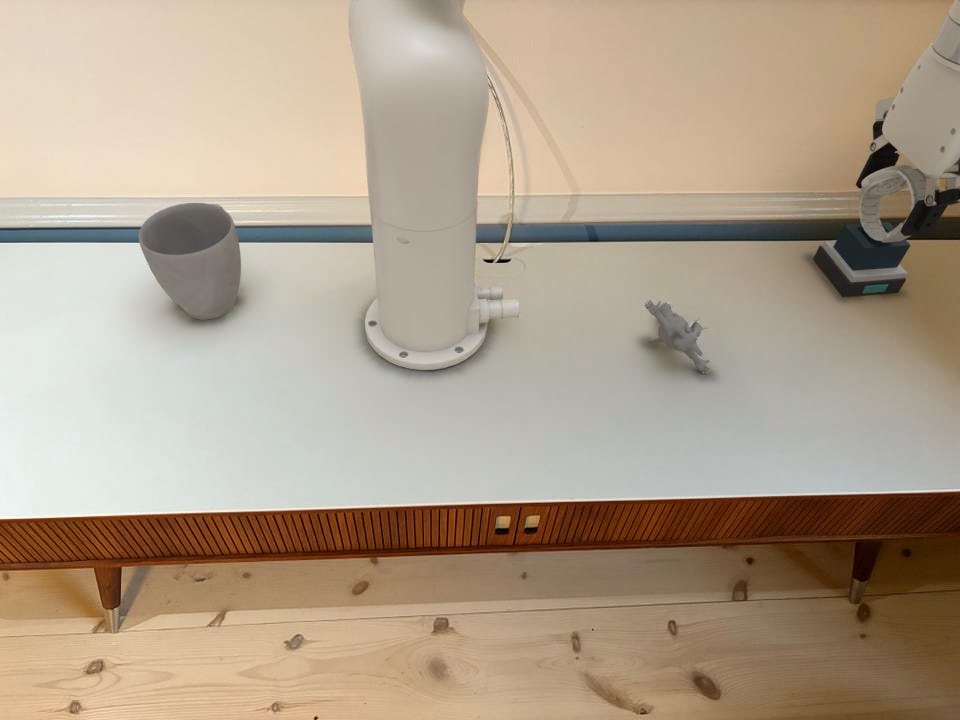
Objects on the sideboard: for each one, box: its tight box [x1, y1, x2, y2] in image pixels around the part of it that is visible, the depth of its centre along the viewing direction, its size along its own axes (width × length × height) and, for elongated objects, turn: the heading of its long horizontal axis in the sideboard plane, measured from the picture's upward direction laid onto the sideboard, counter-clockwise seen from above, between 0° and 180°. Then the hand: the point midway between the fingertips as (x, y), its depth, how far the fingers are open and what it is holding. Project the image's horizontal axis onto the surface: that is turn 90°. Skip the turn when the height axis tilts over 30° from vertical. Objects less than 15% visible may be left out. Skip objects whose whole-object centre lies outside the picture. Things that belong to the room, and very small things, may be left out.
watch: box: [834, 164, 926, 271], centre depth 76 cm, size 6×8×11 cm
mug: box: [138, 202, 242, 321], centre depth 72 cm, size 12×9×10 cm
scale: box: [812, 239, 908, 298], centre depth 81 cm, size 7×7×3 cm
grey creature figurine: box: [644, 299, 712, 375], centre depth 70 cm, size 10×6×9 cm
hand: (891, 208), depth 75 cm, fingers closed on watch, 8 cm apart
